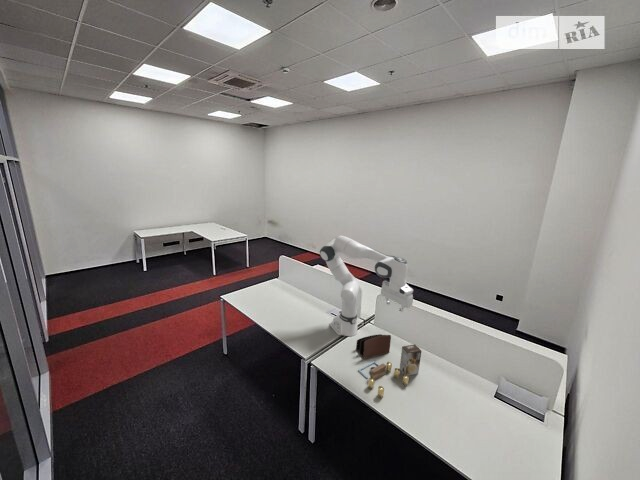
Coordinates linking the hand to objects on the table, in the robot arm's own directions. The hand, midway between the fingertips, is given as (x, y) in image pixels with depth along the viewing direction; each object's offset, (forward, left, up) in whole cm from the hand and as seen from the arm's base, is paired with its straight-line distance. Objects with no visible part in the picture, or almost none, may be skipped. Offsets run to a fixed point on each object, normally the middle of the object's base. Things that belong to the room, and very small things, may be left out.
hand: (394, 307), depth 153 cm
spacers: (+10, -13, -39) cm, 42 cm away
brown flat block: (+3, -12, -39) cm, 41 cm away
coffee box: (+11, +6, -39) cm, 41 cm away
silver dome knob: (0, -12, -39) cm, 41 cm away
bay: (-2, -12, -39) cm, 41 cm away
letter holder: (-14, +1, -40) cm, 42 cm away
